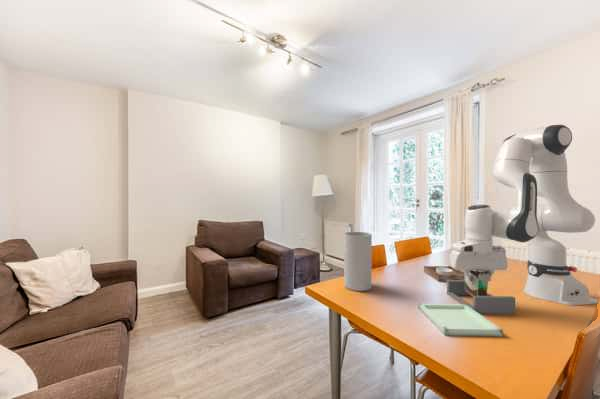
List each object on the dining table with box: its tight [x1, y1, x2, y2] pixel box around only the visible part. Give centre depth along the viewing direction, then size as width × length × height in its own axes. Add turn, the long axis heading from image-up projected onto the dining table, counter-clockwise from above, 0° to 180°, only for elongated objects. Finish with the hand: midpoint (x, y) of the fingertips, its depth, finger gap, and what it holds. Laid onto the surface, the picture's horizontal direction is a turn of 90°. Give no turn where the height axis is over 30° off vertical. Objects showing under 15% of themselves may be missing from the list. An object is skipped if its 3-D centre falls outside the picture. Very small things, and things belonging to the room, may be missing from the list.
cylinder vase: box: [343, 231, 373, 292], centre depth 111 cm, size 12×12×25 cm
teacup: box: [436, 267, 453, 274], centre depth 123 cm, size 10×10×5 cm
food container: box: [464, 270, 490, 297], centre depth 93 cm, size 12×6×10 cm, turn 169°
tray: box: [417, 302, 504, 337], centre depth 80 cm, size 17×17×2 cm
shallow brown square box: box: [423, 265, 464, 283], centre depth 124 cm, size 15×15×4 cm
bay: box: [446, 280, 516, 315], centre depth 93 cm, size 14×17×6 cm
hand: (478, 280), depth 93 cm, fingers closed on food container, 6 cm apart
